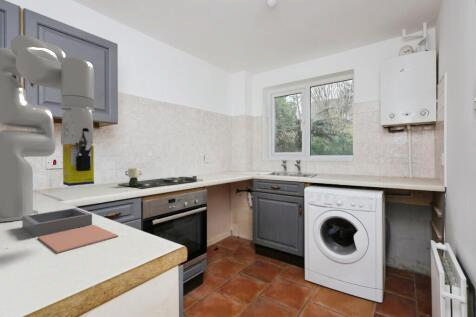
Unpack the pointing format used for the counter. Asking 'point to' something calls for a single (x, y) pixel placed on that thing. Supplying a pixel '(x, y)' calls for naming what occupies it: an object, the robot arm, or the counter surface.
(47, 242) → the mat
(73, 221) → the tray
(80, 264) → the counter surface
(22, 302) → the counter surface
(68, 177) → the supplement box
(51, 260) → the counter surface
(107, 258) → the counter surface
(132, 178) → the character mug
